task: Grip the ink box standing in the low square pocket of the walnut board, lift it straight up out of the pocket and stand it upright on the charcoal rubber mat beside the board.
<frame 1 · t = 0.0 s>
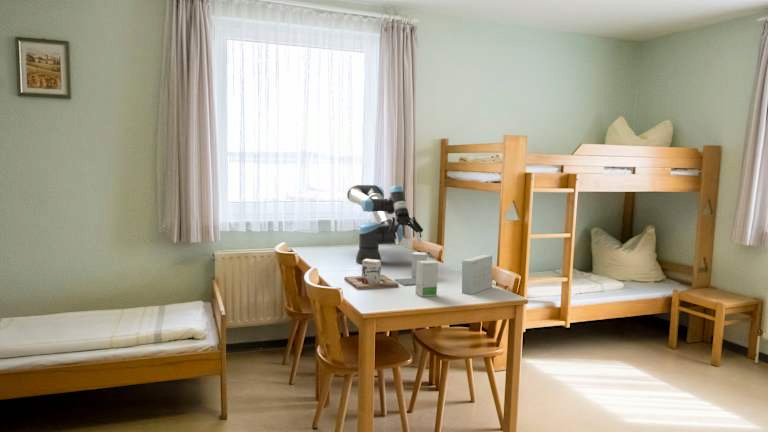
hand: (409, 243, 298), 15 cm above the table, tool tilted 35°, fingers open, 13 cm apart
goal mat: (410, 282, 272), on the table
skincare box: (425, 295, 248), on the table
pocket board: (370, 283, 268), on the table
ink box: (370, 283, 268), resting in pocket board
supplement box: (419, 277, 286), on the table
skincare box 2: (476, 290, 260), on the table
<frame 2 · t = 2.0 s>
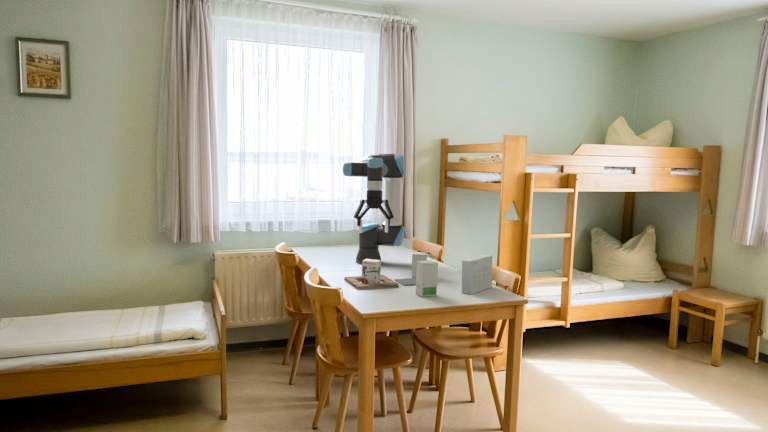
hand: (373, 232, 265), 25 cm above the table, tool pointing down, fingers open, 13 cm apart
nothing on the table moved.
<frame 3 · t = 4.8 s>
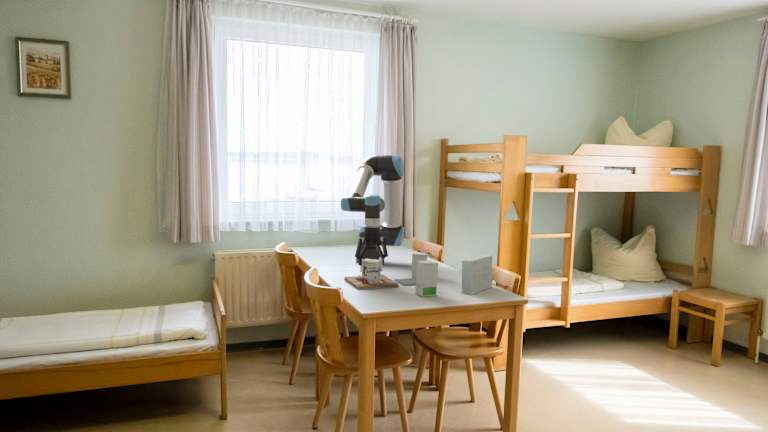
hand: (371, 271, 267), 6 cm above the table, tool pointing down, fingers closed on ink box, 9 cm apart
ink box: (370, 283, 268), resting in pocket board, touching gripper
everything else where it was.
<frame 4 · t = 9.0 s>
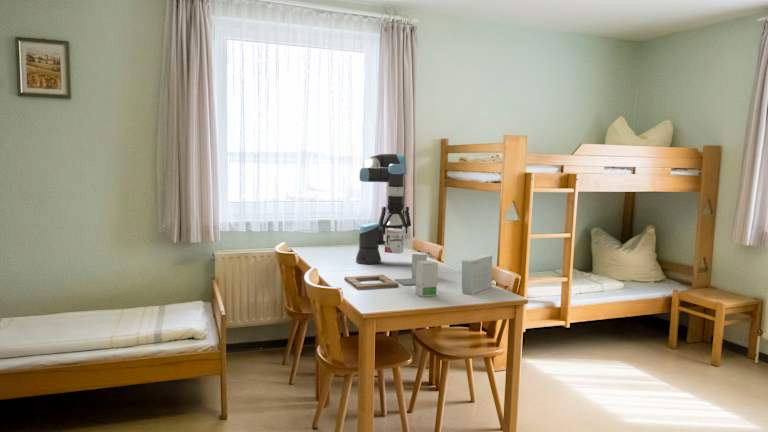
hand: (394, 240, 268), 21 cm above the table, tool pointing down, fingers closed on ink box, 9 cm apart
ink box: (393, 252, 268), point 15 cm above the table, touching gripper
everything else where it was.
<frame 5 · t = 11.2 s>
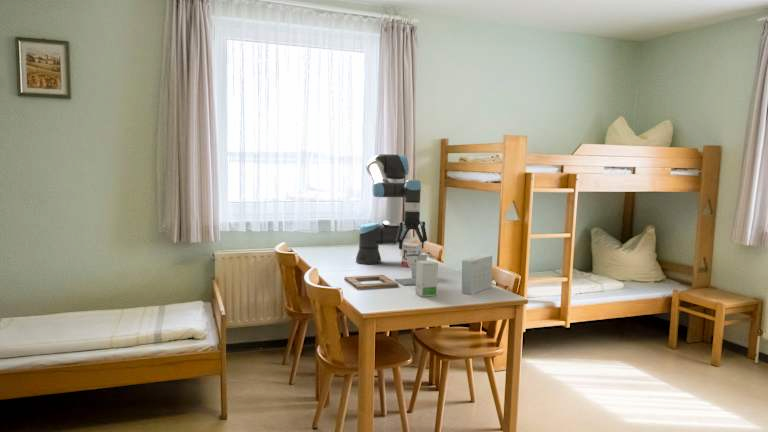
hand: (410, 255, 270), 14 cm above the table, tool pointing down, fingers closed on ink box, 9 cm apart
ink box: (410, 267, 271), point 8 cm above the table, touching gripper
everything else where it was.
when the fingers open (8 cm above the table, at t = 13.2 s): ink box drops 1 cm, resting on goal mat.
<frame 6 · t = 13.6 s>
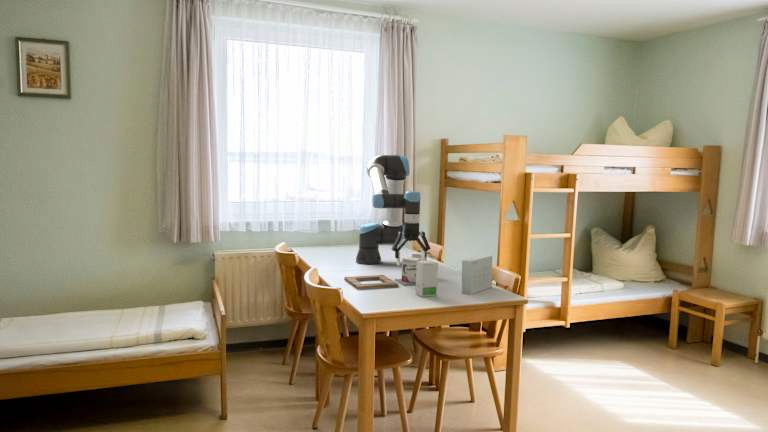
hand: (410, 264, 271), 9 cm above the table, tool pointing down, fingers open, 13 cm apart
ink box: (410, 281, 272), resting on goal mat
everything else where it was.
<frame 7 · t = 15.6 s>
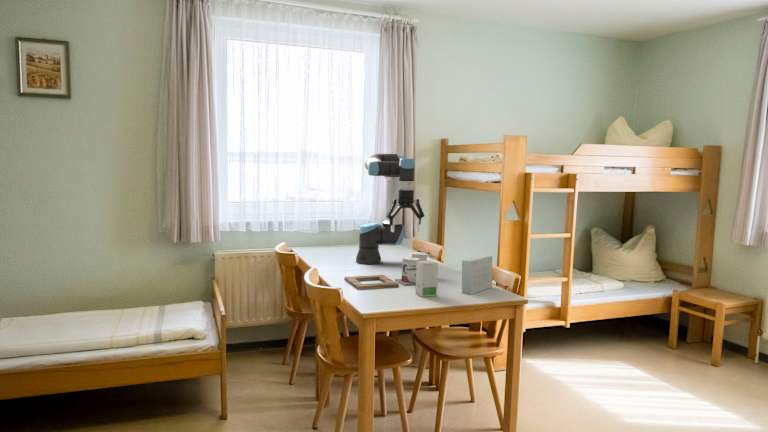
hand: (404, 231, 271), 26 cm above the table, tool pointing down, fingers open, 13 cm apart
nothing on the table moved.
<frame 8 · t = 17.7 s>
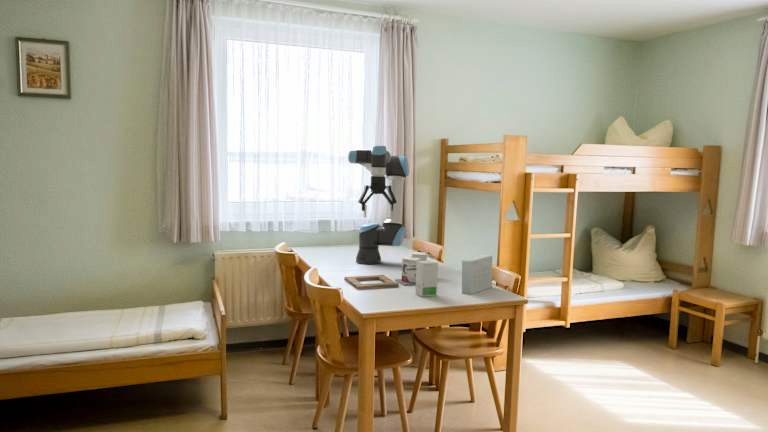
hand: (377, 217, 278), 32 cm above the table, tool pointing down, fingers open, 13 cm apart
nothing on the table moved.
at the end: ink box inside the target area on the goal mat (0.3 cm from its centre), point 0.4 cm above the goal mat's base; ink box tilted 0°; the gripper is holding nothing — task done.
